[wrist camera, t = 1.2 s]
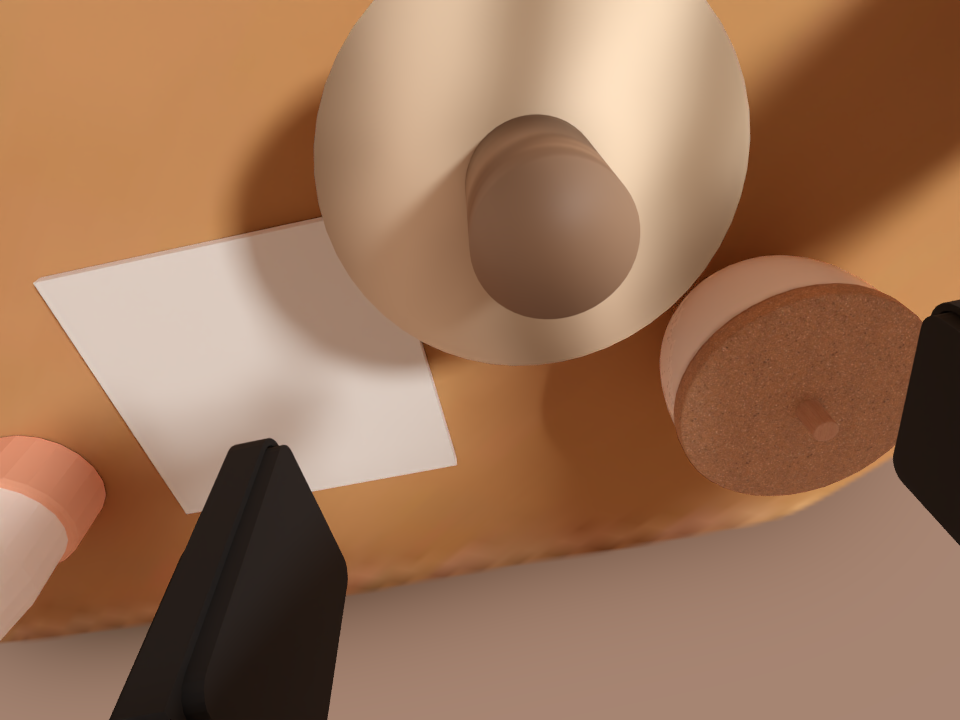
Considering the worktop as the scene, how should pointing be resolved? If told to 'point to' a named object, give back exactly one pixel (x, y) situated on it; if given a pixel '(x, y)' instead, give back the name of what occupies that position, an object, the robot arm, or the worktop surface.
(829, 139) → the worktop surface
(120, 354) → the mat
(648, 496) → the worktop surface
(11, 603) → the pepper shaker
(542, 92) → the lid
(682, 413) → the lidded jar
